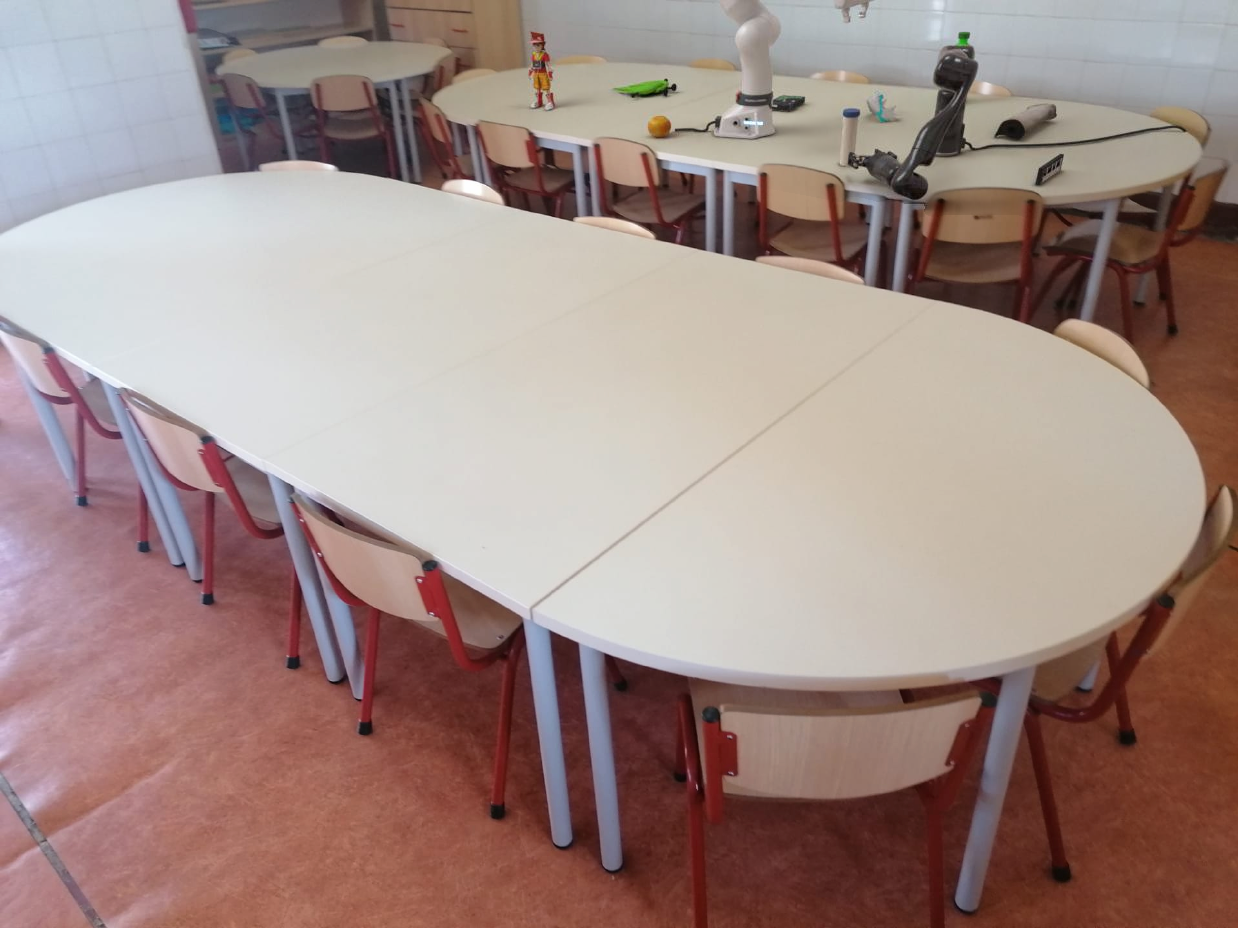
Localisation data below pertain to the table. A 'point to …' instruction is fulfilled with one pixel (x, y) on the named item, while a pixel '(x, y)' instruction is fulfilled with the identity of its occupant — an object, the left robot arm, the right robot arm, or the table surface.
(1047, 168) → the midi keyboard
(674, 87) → the toy
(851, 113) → the lid
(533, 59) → the toy
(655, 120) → the fruit
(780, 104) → the disk drive
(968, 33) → the plastic bottle
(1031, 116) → the rolled mat
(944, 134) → the right robot arm
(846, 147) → the jar
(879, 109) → the anatomical model
